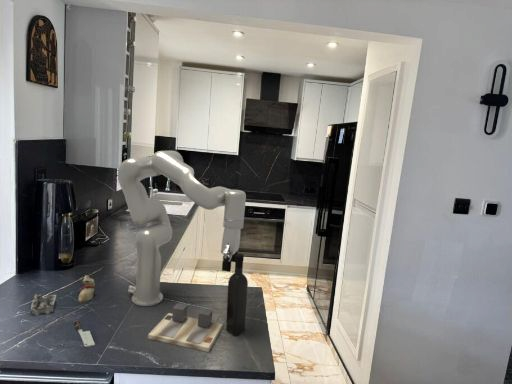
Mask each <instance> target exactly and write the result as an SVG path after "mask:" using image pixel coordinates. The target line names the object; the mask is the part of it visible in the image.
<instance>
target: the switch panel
mask: <svg viewBox="0 0 512 384" xmlns="http://www.w3.org/2000/svg"><path fill="white" fill-rule="evenodd" d="M172 315H173V313H171V312H168V313H167V314H166V315H165V316H164V317H163V318H162V319H161V321H159V322H158V323H157V324H156V326H154V327H153V328H152V330H151V331H150V332H149V333H148V335H147V339H148V340H154V341H156V342H157V341H158V342H162V343H168V344H171V345H175V346H180V347H183V348H189V349H193V350H197V351H201V352H207V353H209V352H210V350H211V348H212V347H213V345H214V343H215V341H216V340H217V338H218V337H219V334H220V333H221V331H222V329H223V324H222V323H219V322H213V321H212V323H211V324H210V326H209V327H208V328H205V327H200V326H198V318H195V317H190V316H187V317H186V319H185V320H184V321H183V322H177V321H172Z"/></svg>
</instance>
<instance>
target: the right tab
mask: <svg viewBox="0 0 512 384" xmlns="http://www.w3.org/2000/svg"><path fill="white" fill-rule="evenodd" d="M197 319H198V326H200V327H205V328H208V327H209V326H210V324H211V323H212V322H213V321H212V320H213V309H209V308H205V307H202V308H201V309H200V310H199V311H198V315H197Z"/></svg>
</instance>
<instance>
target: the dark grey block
mask: <svg viewBox="0 0 512 384" xmlns="http://www.w3.org/2000/svg"><path fill="white" fill-rule="evenodd" d="M172 314H173V315H172V321H177V322H183V321H184V320H185V319H186V317H188V315H187V314H188V304H184V303H180V302H177V303H176V304H175V305H174V306H173V307H172Z"/></svg>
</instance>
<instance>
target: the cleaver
mask: <svg viewBox="0 0 512 384" xmlns="http://www.w3.org/2000/svg"><path fill="white" fill-rule="evenodd" d="M73 323H74V327H75V329H76V331H77V333H79V336H80V338H81V340H82V343H83V346H84V348H88V347H91V346H95V345H96V344H95V341H94V338H93V336H92V334H91V331H90V330H86V331H84V330H83V327H82V325H81V322H80V320H79V319H77V320H75V321H73Z"/></svg>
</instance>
